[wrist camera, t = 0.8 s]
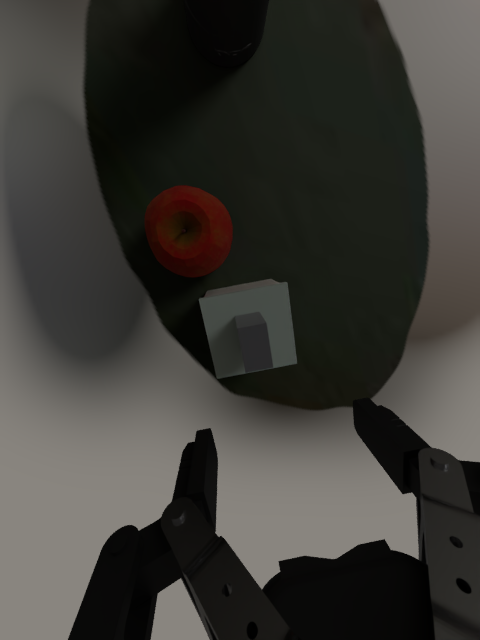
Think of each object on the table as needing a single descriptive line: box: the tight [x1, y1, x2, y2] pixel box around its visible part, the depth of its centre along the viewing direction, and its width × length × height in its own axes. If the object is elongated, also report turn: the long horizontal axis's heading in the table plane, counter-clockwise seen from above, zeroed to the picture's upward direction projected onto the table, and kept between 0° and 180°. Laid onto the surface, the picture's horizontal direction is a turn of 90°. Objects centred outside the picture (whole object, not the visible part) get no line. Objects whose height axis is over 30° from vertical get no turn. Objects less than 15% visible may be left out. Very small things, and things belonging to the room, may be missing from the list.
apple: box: [145, 185, 232, 277], centre depth 28 cm, size 11×11×11 cm
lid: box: [199, 282, 297, 379], centre depth 27 cm, size 11×11×7 cm
